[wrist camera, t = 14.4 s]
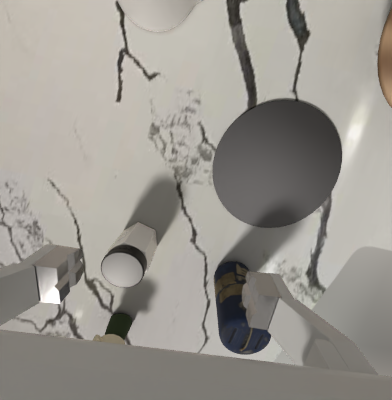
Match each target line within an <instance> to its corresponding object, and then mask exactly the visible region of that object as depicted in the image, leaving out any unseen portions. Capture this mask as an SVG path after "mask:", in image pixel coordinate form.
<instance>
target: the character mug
mask: <svg viewBox="0 0 392 400" xmlns="http://www.w3.org/2000/svg"><path fill="white" fill-rule="evenodd" d="M131 325H132V319H131V318H130V317H129V316H128V315H125V314H115V315H113V316H111V318H110V321H109V324H108V326H107V329H106V332H105V335H104V336H102V337H100V336H99V335H96V336H95V337H94V339H93V341H100V342H108V343H116V344H125V342H124V339H125V337H126V335H127V333H128V331H129V329H130V327H131Z"/></svg>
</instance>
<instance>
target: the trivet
mask: <svg viewBox="0 0 392 400" xmlns="http://www.w3.org/2000/svg"><path fill="white" fill-rule="evenodd" d="M341 162H342V151H341V144H340V140H339V137H338V134H337V132H336V130H335V128H334V126H333V125H332V123H331V122H330V121H329V119H328V118H327V117H326V116H325V115H324V114H323V113H321V112H320V111H319V110H317V109H316V108H314V107H312V106H310V105H308V104H305V103H302V102H298V101H291V100H280V101H273V102H268V103H265V104H262V105H259V106H257V107H255V108H253V109H251V110H249V111H247V112H246V113H244V114H243V115H242V116H240V117H239V118H238V119H237V120H236V121H235V122H234V123H233V124H232V125H231V126H230V127H229V128H228V130H227V131H226V132H225V134H224V135H223V137H222V139H221V141H220V143H219V145H218V147H217V150H216V153H215V157H214V161H213V181H214V186H215V189H216V192H217V195H218V197H219V199H220V201H221V202H222V204H223V205H224V207H225V208H226V209H227V210H228V211H229V212H230V213H231V214H232V215H233V216H235V217H236V218H238V219H239V220H241V221H243V222H245V223H247V224H250V225H253V226H258V227H266V228H272V227H281V226H286V225H289V224H292V223H295V222H297V221H300V220H301V219H303V218H305V217H307V216H308V215H310V214H311V213H313V212H314V211H315V210H316V209H317V208H319V207H320V205H321V204H322V203H323V202H324V201H325V200H326V199H327V197H328V196H329V195H330V193H331V191H332V190H333V188H334V186H335V184H336V182H337V179H338V176H339V173H340V168H341Z"/></svg>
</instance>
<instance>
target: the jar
mask: <svg viewBox="0 0 392 400" xmlns="http://www.w3.org/2000/svg"><path fill="white" fill-rule="evenodd" d="M156 248H157V240H156V231H155V230H154V229H152V228H150V227H148V226H145V225H143V224H141V223H139V222H137V223H136V224H134V225H132V226H131V227H129V228H127V229H126V230H124V231H123V232H122V233H121V235H120V236H119V237H118V238H117V239H116V241H115V242H114V243H113V244H112V246H111V247H110V248H109V249H108V251H107V252H106V255H105V257H104V259H103V261H102V263H101V271H102V274H103V276H104V277H105V279H106V280H107V281H108V282H110V283H111V284H113V285H115V286H118V287H123V288H127V287H132V286H135V285H137V284H138V283H139V282H140V281H141V280H142V278H143V276H144V274H145V272H147V271H148V269H149V267H150V264H151V261H152V259H153V256H154V254H155V251H156Z"/></svg>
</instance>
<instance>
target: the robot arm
mask: <svg viewBox="0 0 392 400" xmlns="http://www.w3.org/2000/svg"><path fill="white" fill-rule="evenodd" d="M201 1H203V0H118V2H119V4H120V6H121V8H122V10H123V11H124V13H125V14H126V15H127V17H128V18H129V19H130V20H131V21H132V22H134V23H135V24H136V25H138V26H139V27H141V28H143V29H146V30H149V31H154V32H162V31H167V30H170V29H172V28H174V27H176V26H177V25H179V24H180V23H181V22H182V21H183V20H184V19H185V18H186V17H187V16H188V14H189V13H190V12H191V10H192V9H193V7H194V6H195V5H196V4H198V3H199V2H201ZM82 257H83V251H82V250H81V249H80V248H73V247H67V246H59V245H53V244H47V245H45V246H44V247H42V248H41V249H39V250H38V251H36V252H35V253H33V254H32V255H31V256H29V257H28V258H26V259H25V260H23V261H22V262H20V263H19V264H12V265H8V266H5V267H2V268H0V326H1V325H2V324H4V323H6V322H7V321H9V320H11V319H13V318H14V317H16V316H18V315H19V314H21V313H23V312H24V311H26V310H28V309H30V308H31V307H33V306H35V305H36V304H38V303H39V302H48V303H59V304H60V303H61V302H62V300H63V299H64V298H65V297H66V296H67V295H68V293H69V292H70V287H72V286H74V285H76V284H77V283H78V281H79V280H80V278H81V276H82V274H83V263H82V262H81V261H80V259H81V258H82ZM245 278H246V281H247V283H245V284H244V285H243V289H242V302H243V306H244V307H245V308H246V309H247V310H246V318H247V321H248V325H249V327H251V328H258V329H264V330H268V332H269V333H270V334H271V336H272V337H273V338H274V339H275V341H276V342H277V343H278V344H279V345H280V347H281V348H282V349H283V350H284V352H285V353H286V354H287V355H288V356H289V358H290V359H291V360H292V361H293V363H294V364H295V365H291V364H283V363H275V362H266V361H258V360H249V359H241V358H232V357H224V356H216V355H208V354H200V353H191V352H183V351H175V350H167V349H158V348H150V347H141V346H133V345H125V344H116V343H108V342H100V341H91V340H83V339H75V338H66V337H58V336H50V335H41V334H33V333H24V332H16V331H8V330H0V400H392V377H391V376H382V375H378V373H377V372H376V371H375V369H374V368H373V367H372V366H371V364H370V363H369V362H368V360H367V359H366V357H365V356H364V355H363V353H362V352H361V351H360V349H359V348H358V347H357V345H356V344H355V343H354V342H353V341H352V340H350V339H349V338H347V337H346V336H345V335H343V334H342V333H341V332H339V331H338V330H337V329H336V328H334V327H333V326H332V325H330V324H329V323H328V322H326V321H325V320H324V319H322V318H321V317H319V316H318V315H317V314H315V313H314V312H313V311H312V310H310V309H309V308H308V307H306V306H305V305H304V304H302V303H301V302H300V301H298V300H294V298H293V296H292V295H291V293H290V291H289V290H288V288H287V286H286V285H285V283H284V281H283V280H282V278H281V276H280V275H279V274H272V273H260V272H252V271H248V272H247V274H246V277H245Z"/></svg>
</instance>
